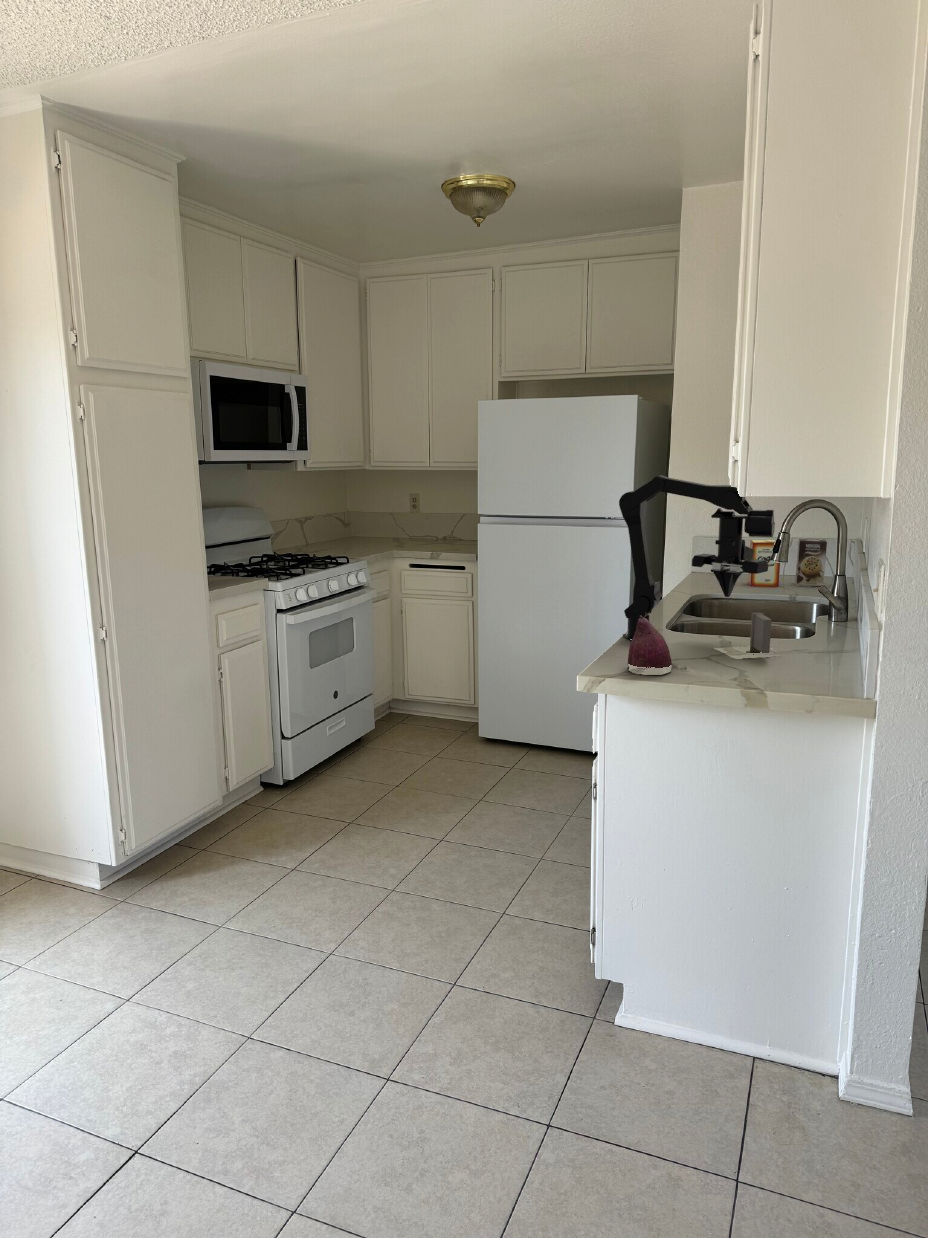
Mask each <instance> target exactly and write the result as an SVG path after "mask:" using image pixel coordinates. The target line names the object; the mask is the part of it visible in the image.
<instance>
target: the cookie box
mask: <svg viewBox="0 0 928 1238" xmlns="http://www.w3.org/2000/svg"><path fill="white" fill-rule="evenodd" d="M797 543H798V545H797V558H796V559H797V560H796V566H795V567H796V569H795V579H794V583H795V586H796V587H811V586H820V585H823V586H824V581H825V571H826V559H827V558H826V557H827V547H828V541H827V540H826V539H811V538H810V539H809V538H803V539H802V538H798V542H797Z"/></svg>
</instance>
